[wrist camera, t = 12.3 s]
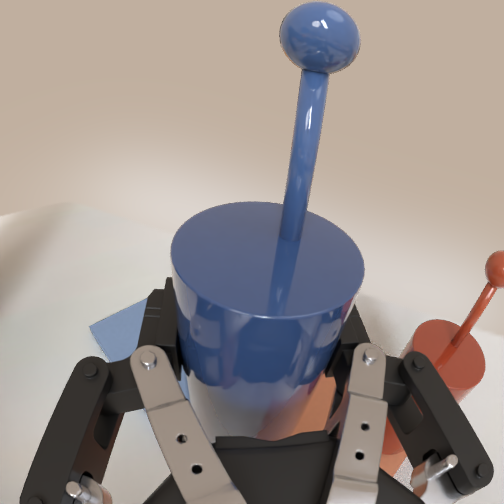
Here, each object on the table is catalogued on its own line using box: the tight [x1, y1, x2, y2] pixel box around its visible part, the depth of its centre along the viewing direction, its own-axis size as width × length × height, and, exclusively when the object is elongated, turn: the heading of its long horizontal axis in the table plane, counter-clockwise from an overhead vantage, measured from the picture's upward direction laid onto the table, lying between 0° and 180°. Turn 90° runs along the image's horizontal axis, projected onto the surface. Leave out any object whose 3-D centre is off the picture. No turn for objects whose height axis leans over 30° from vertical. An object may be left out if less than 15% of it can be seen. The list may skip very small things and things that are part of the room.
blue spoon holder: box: [170, 1, 365, 443], centre depth 10 cm, size 6×6×17 cm
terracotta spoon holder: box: [382, 250, 504, 455], centre depth 17 cm, size 6×6×17 cm
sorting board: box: [89, 298, 407, 477], centre depth 25 cm, size 16×28×1 cm, turn 44°
